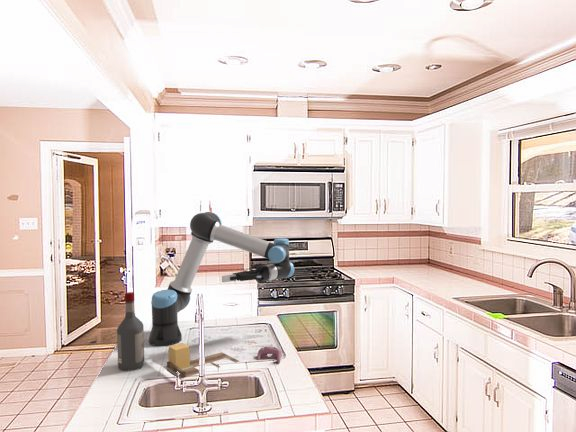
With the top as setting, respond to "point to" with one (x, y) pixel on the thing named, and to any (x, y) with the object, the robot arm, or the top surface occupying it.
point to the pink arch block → (269, 350)
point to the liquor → (130, 338)
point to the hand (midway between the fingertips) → (222, 279)
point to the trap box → (197, 364)
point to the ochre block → (180, 355)
